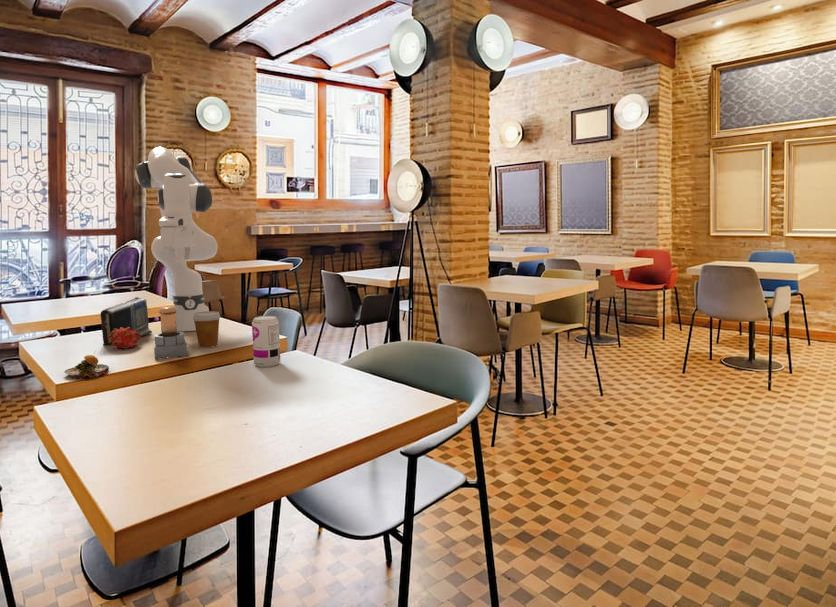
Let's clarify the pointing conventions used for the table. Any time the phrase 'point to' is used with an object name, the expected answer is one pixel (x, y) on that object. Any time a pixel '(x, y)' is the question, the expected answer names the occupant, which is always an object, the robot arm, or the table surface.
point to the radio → (125, 318)
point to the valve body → (170, 346)
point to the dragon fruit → (123, 338)
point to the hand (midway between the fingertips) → (181, 260)
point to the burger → (88, 368)
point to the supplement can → (266, 341)
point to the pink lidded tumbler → (168, 321)
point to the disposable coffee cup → (207, 328)
